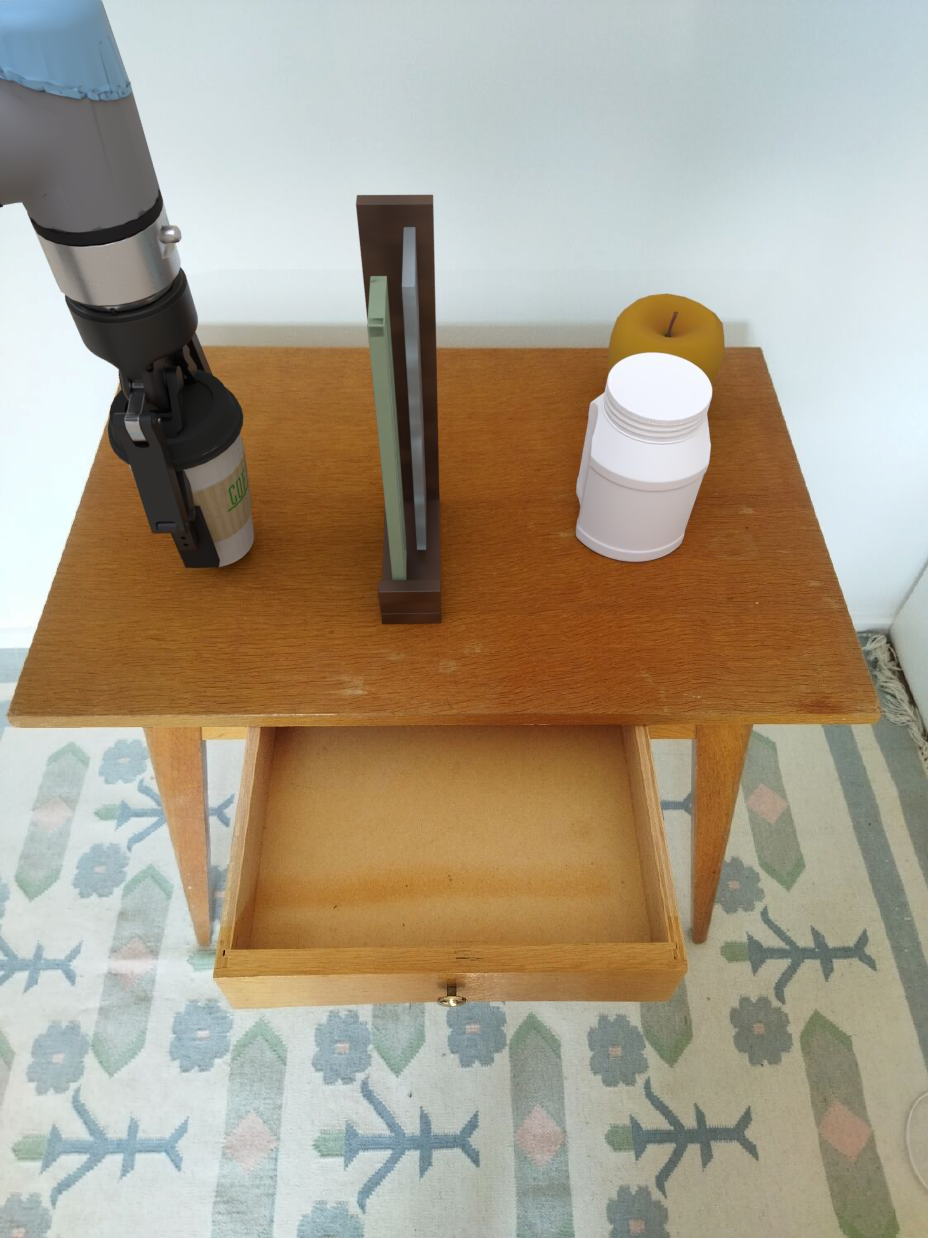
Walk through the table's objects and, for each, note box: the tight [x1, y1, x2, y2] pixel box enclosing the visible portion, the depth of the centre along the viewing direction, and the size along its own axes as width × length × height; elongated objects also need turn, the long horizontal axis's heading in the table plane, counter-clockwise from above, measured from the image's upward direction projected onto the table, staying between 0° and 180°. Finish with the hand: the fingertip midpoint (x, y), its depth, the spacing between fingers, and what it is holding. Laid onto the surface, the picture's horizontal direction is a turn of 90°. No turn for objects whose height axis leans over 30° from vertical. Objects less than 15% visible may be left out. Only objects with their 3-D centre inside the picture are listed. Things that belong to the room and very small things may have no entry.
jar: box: [575, 353, 713, 563], centre depth 70 cm, size 12×10×15 cm
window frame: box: [355, 194, 442, 625], centre depth 61 cm, size 5×14×29 cm, turn 1°
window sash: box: [366, 276, 407, 580], centre depth 59 cm, size 1×5×26 cm, turn 2°
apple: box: [607, 293, 726, 389], centre depth 79 cm, size 11×11×13 cm
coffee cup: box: [107, 369, 255, 568], centre depth 66 cm, size 10×10×15 cm
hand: (211, 521), depth 70 cm, fingers closed on coffee cup, 9 cm apart
